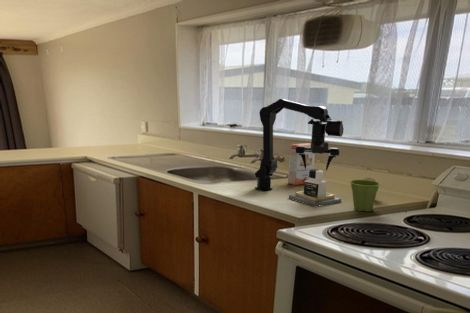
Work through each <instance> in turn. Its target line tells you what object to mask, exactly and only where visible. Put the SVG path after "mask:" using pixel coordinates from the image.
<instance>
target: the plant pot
mask: <svg viewBox="0 0 470 313" xmlns="http://www.w3.org/2000/svg"><path fill="white" fill-rule="evenodd" d="M349 183H350V187H351V193H352V201H353V208H354V209H353V210H356V211H359V212H363V211H365V212H367V213H368V212H371V211H373V209H374V205H375V202H376V201H375V200H376V197H377V194H378V193H377V192H378V191H379V188H380V186H381V183H380V181H379V182H378V181H376V180H375V181H371V180H362V179H352V180H350V181H349Z"/></svg>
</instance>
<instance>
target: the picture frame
mask: <svg viewBox="0 0 470 313" xmlns="http://www.w3.org/2000/svg"><path fill="white" fill-rule="evenodd" d="M289 198H290V200H292V199H293V200H292V201H295V200H297V201H296V202H298V201H300V202H299V203H301V202H304V203H303V204H305V203H307V204H306V205H308V204H310V205H309V206H311V205H313V206H312V207H314V206H318V207H320V206H319V205H324V206H327V205H326V204H329V205H333V203H334V204H337V203H338V204H339V203H342V198H340V197H336V195H335V194H334V193H333V194H332V193H329V192H326V196H321V197H312V196H309V195H306V194H304V190H301V191H296V192H295V193H294V194H289V195H288V199H289Z"/></svg>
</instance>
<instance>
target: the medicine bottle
mask: <svg viewBox="0 0 470 313" xmlns="http://www.w3.org/2000/svg"><path fill="white" fill-rule="evenodd" d="M327 184H328V183H327V181H326V180H324V171H323V170H321V169H318V168H317V169H315V168H314V169H313V170H310V171H309V180H306V181H305V182H304V184H303V191H304V194H306V195H309V196H312V197H321V196H326V193H327Z"/></svg>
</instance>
